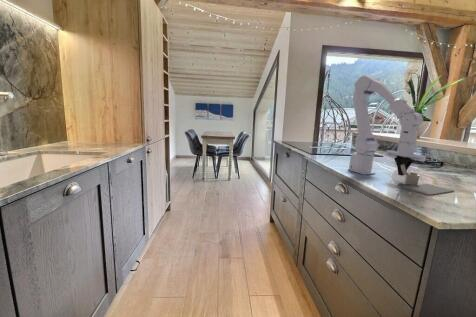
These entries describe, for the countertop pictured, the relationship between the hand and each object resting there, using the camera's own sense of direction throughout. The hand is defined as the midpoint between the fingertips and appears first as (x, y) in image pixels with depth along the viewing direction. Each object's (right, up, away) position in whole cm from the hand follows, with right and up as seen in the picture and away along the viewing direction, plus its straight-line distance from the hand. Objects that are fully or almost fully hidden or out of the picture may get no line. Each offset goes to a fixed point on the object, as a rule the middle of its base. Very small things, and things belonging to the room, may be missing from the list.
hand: (401, 175), depth 100 cm
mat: (+4, -5, -9) cm, 11 cm away
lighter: (+1, -3, -2) cm, 4 cm away
